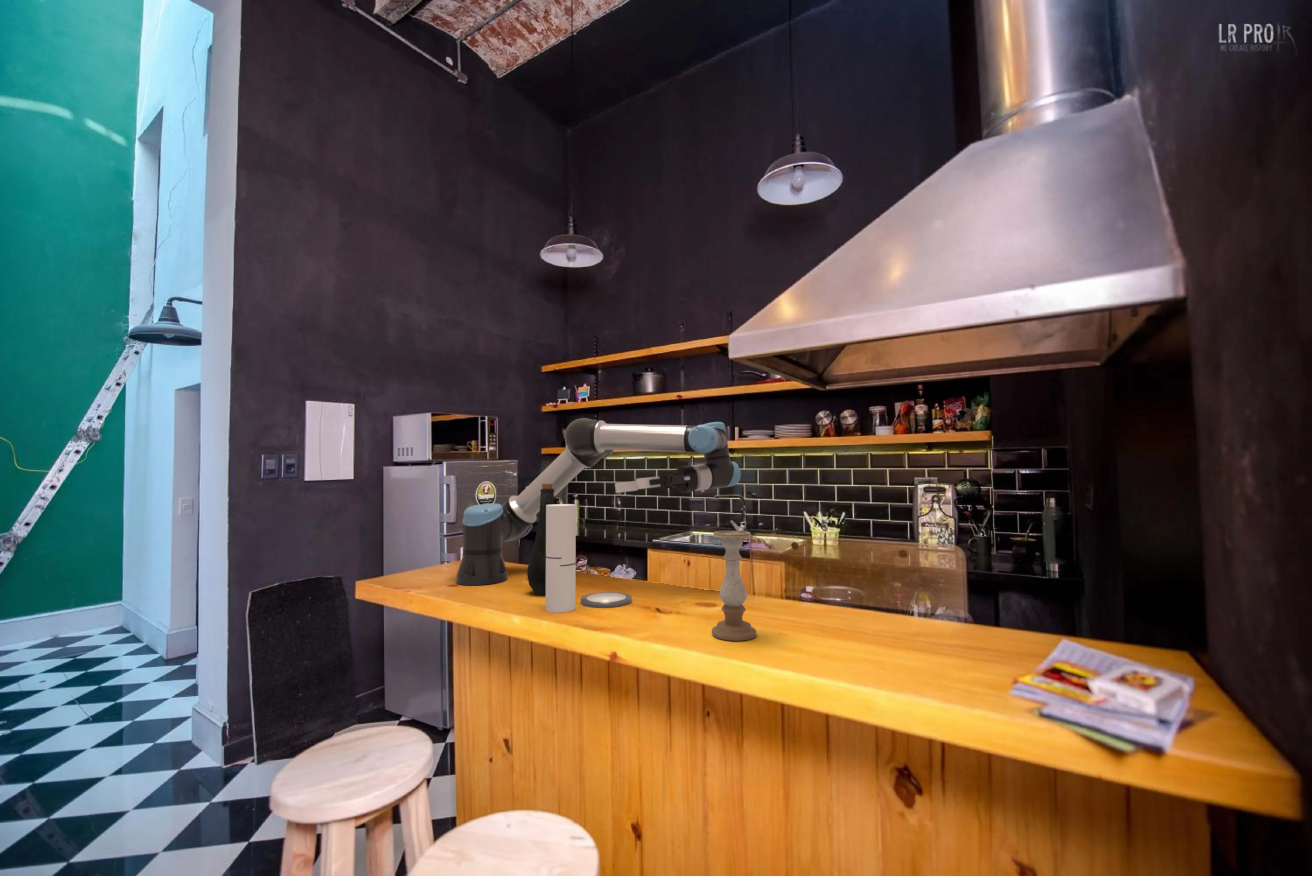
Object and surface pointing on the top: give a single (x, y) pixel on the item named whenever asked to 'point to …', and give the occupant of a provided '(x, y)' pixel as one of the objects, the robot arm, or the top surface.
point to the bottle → (540, 545)
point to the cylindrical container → (560, 558)
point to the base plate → (606, 599)
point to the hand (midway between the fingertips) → (625, 486)
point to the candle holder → (733, 591)
